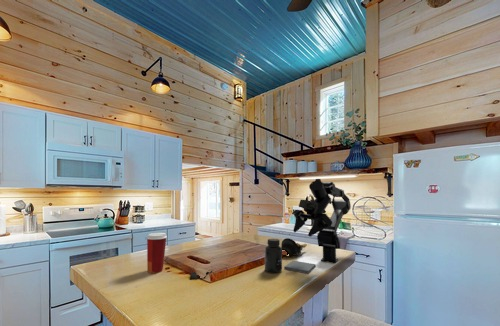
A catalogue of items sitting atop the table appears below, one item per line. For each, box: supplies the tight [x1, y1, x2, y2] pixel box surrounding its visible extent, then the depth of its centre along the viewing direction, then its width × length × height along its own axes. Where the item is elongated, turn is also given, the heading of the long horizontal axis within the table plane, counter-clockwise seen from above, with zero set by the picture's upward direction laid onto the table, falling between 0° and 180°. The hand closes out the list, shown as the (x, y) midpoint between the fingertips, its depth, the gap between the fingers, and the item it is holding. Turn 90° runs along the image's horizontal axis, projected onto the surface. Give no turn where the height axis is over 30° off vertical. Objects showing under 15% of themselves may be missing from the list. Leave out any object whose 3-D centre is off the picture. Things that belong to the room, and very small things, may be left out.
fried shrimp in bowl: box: [280, 237, 308, 257], centre depth 123 cm, size 9×11×18 cm
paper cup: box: [145, 232, 168, 274], centre depth 96 cm, size 8×8×14 cm
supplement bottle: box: [264, 238, 283, 274], centre depth 98 cm, size 7×7×12 cm
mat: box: [283, 260, 317, 275], centre depth 101 cm, size 10×10×1 cm
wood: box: [189, 271, 203, 281], centre depth 98 cm, size 22×7×3 cm, turn 4°
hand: (301, 233), depth 102 cm, fingers open, 9 cm apart
